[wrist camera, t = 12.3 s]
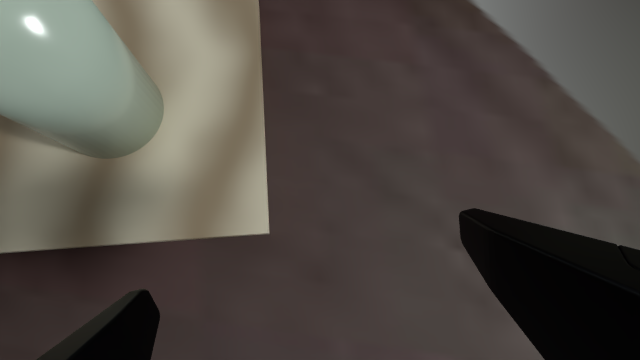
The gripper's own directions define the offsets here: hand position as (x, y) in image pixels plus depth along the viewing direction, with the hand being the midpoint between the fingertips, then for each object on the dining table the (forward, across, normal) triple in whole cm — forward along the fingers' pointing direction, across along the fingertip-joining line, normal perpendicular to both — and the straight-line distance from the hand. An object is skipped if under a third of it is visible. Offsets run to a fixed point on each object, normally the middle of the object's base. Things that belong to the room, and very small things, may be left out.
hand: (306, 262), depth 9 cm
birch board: (+14, +10, -4) cm, 18 cm away
